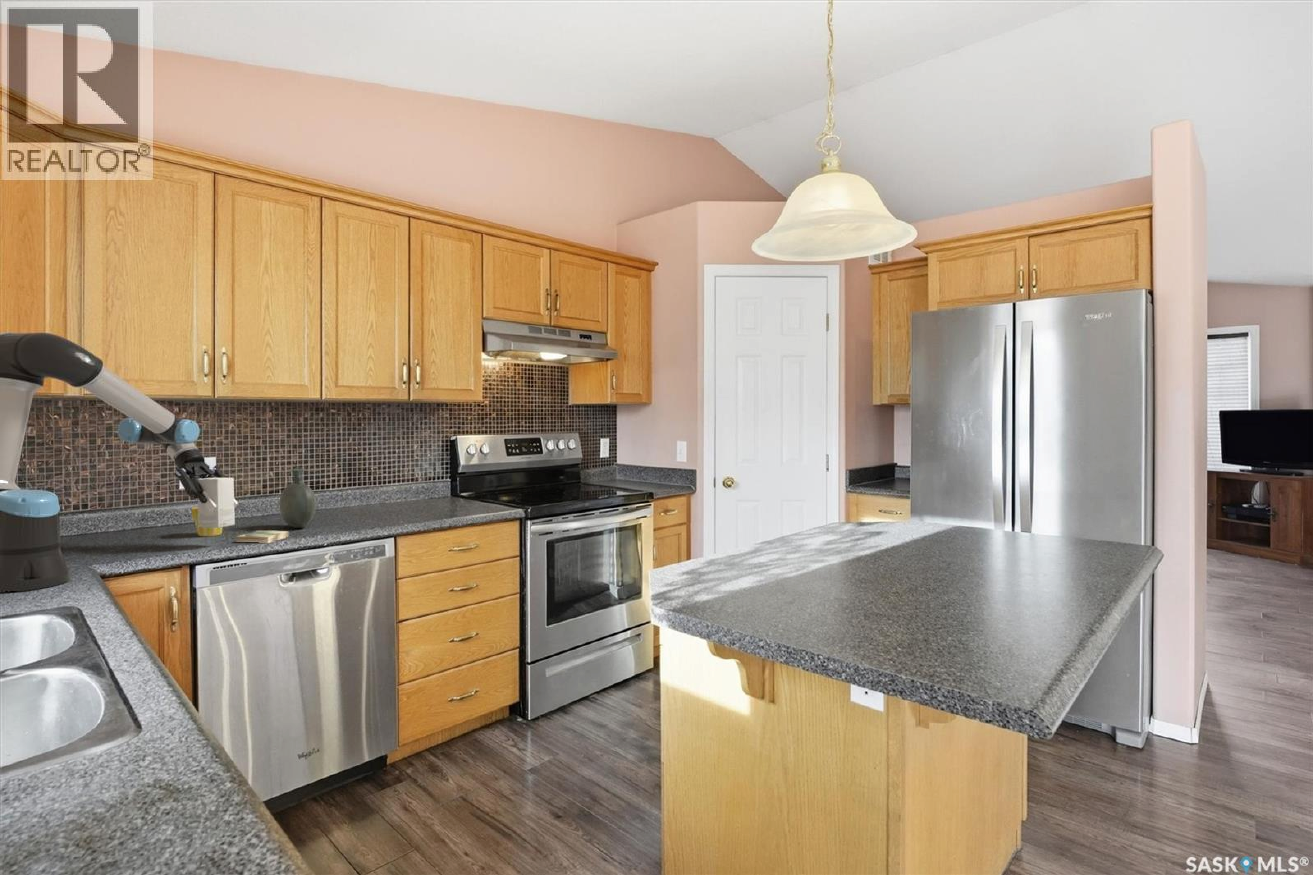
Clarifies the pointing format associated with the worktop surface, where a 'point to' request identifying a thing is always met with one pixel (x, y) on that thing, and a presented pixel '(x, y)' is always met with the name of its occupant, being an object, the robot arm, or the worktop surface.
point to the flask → (297, 502)
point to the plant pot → (205, 530)
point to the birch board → (262, 536)
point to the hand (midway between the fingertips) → (224, 507)
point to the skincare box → (217, 503)
